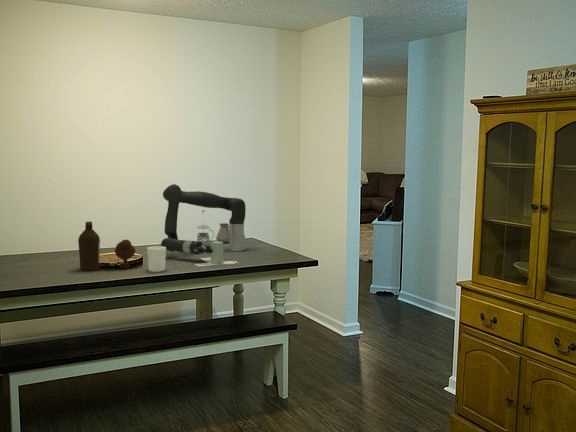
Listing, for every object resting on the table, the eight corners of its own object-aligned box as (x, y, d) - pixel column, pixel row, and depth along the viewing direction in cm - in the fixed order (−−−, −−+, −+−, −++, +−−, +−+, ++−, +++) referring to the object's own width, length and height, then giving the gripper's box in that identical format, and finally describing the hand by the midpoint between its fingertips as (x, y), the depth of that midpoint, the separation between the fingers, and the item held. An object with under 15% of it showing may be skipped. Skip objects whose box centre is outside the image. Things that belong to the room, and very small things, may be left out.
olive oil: (81, 272, 288) (80, 223, 285) (77, 268, 297) (75, 221, 294) (102, 270, 293) (101, 222, 291) (97, 266, 302) (96, 220, 299)
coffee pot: (213, 241, 393) (213, 220, 391) (228, 240, 399) (228, 219, 397) (226, 246, 374) (226, 223, 373) (241, 245, 380) (242, 223, 379)
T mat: (185, 259, 326) (185, 259, 326) (224, 256, 337) (224, 256, 337) (198, 266, 307) (198, 266, 307) (239, 263, 318) (239, 263, 318)
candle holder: (168, 268, 300) (168, 246, 299) (162, 272, 290) (162, 249, 289) (150, 268, 301) (150, 245, 300) (144, 271, 291) (144, 248, 290)
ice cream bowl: (139, 265, 306) (139, 238, 304) (127, 269, 296) (127, 241, 294) (123, 264, 310) (122, 237, 308) (110, 268, 299) (110, 240, 297)
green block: (215, 262, 319) (215, 241, 317) (223, 263, 316) (223, 242, 315) (210, 263, 314) (210, 242, 313) (218, 264, 312) (218, 243, 311)
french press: (195, 246, 369) (195, 209, 367) (213, 246, 371) (213, 209, 368) (195, 249, 360) (195, 210, 357) (213, 249, 361) (213, 210, 358)
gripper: (185, 242, 315) (209, 245, 308) (200, 239, 328) (223, 241, 321) (185, 255, 316) (209, 258, 309) (200, 251, 329) (223, 254, 321)
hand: (216, 250), depth 315 cm, fingers open, 8 cm apart
